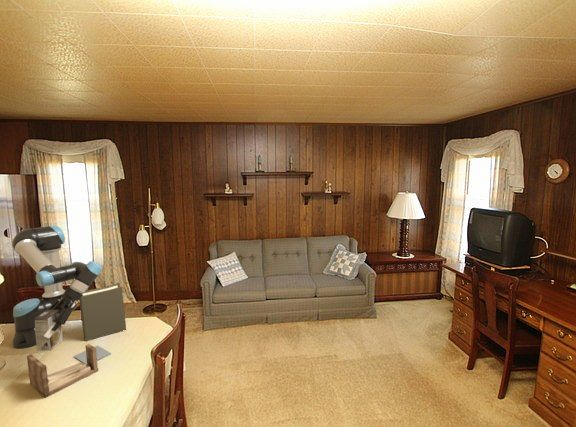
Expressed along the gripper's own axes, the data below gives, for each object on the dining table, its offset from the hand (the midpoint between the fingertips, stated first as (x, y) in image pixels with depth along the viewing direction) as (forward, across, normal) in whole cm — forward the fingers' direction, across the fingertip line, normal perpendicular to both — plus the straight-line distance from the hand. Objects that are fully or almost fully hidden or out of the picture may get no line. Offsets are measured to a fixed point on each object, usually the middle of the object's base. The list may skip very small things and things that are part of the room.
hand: (41, 333), depth 145 cm
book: (-10, +19, -42) cm, 47 cm away
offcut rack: (+12, -8, -19) cm, 24 cm away
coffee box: (+3, 0, -8) cm, 8 cm away
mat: (+1, 0, -30) cm, 31 cm away
